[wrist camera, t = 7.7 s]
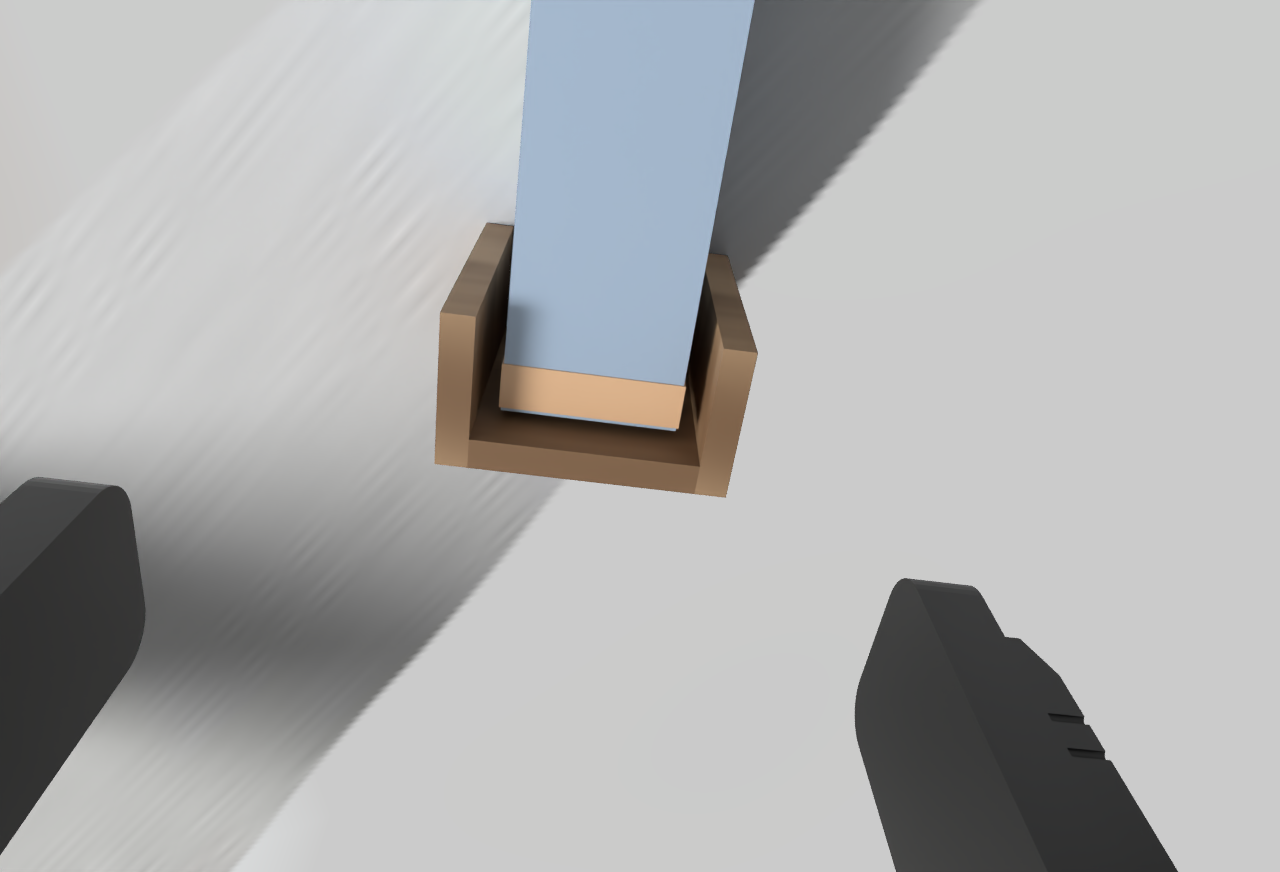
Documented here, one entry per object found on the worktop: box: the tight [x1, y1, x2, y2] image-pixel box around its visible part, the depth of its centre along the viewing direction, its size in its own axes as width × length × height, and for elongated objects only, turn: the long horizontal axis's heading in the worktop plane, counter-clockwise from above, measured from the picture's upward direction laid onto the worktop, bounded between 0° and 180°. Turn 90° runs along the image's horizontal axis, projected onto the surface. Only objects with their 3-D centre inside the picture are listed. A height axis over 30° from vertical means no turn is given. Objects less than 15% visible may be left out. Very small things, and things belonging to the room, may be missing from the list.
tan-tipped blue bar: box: [499, 0, 755, 431], centre depth 22 cm, size 16×5×6 cm, turn 172°
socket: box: [435, 223, 758, 497], centre depth 25 cm, size 4×7×7 cm, turn 82°
